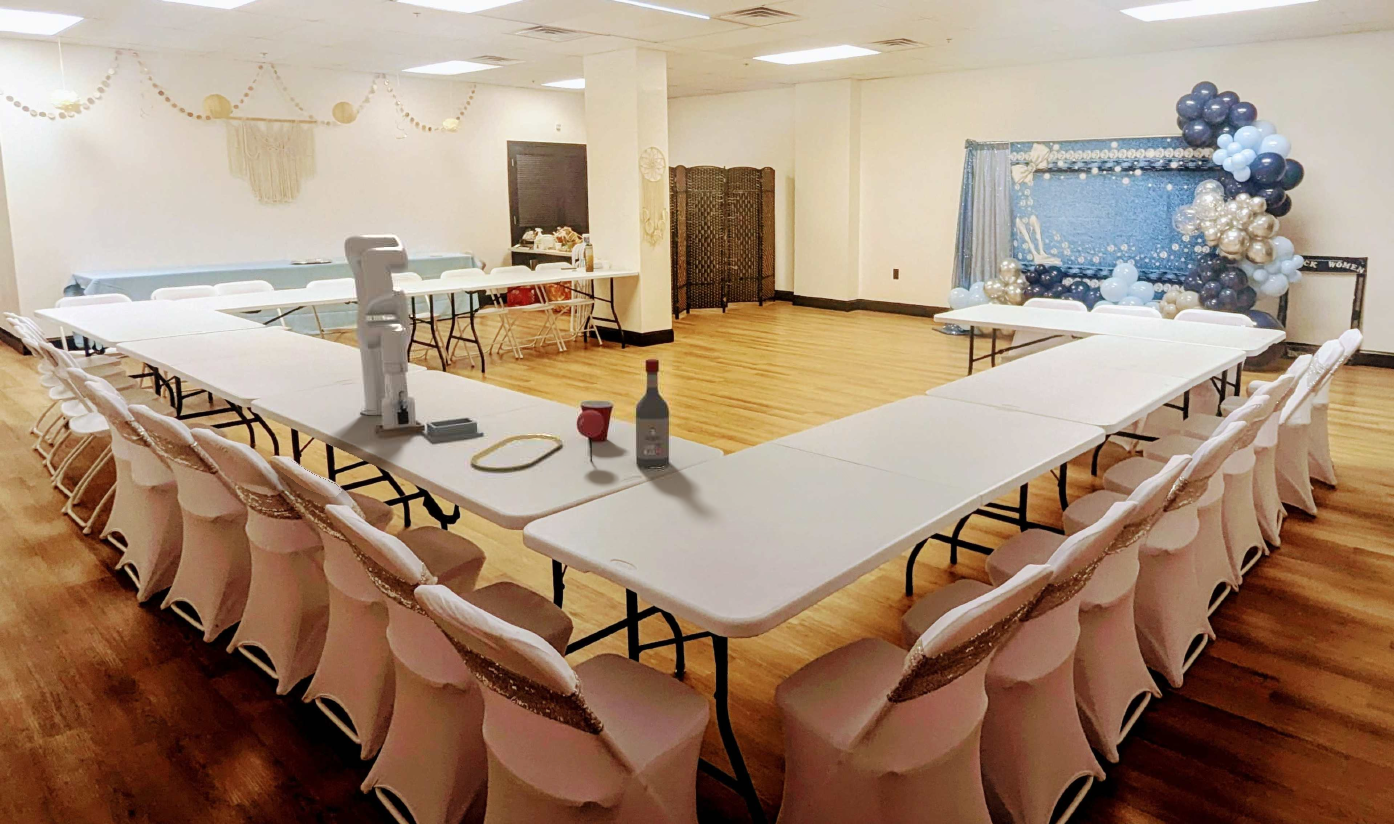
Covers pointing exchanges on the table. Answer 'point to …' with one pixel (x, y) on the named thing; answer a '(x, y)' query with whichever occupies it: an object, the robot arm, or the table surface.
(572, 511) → the table surface
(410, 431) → the wooden picture frame
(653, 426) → the liquor
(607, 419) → the plastic cup
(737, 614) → the table surface
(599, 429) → the lollipop
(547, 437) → the gold oval ring
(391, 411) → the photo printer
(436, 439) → the docking base
